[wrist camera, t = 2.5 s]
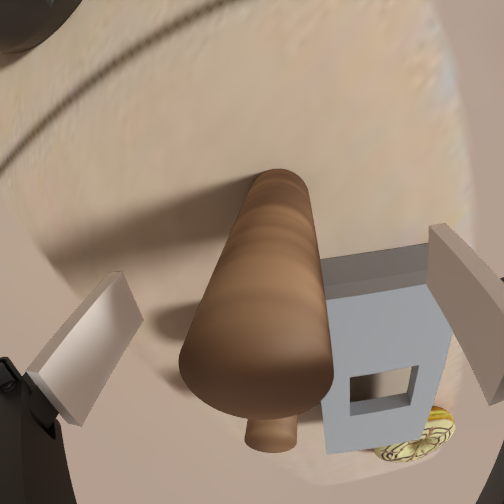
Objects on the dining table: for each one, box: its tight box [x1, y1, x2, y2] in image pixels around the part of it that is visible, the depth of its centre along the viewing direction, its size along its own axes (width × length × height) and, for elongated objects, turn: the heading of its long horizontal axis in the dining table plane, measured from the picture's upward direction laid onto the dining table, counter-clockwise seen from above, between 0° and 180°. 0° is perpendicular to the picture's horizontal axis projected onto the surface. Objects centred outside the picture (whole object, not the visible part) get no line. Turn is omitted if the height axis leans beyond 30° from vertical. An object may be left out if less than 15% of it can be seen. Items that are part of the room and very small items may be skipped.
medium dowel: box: [245, 414, 298, 453], centre depth 25 cm, size 4×4×8 cm
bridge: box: [320, 243, 453, 454], centre depth 24 cm, size 20×10×5 cm, turn 12°
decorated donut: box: [374, 407, 455, 462], centre depth 30 cm, size 10×11×4 cm
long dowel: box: [179, 169, 334, 420], centre depth 14 cm, size 4×4×15 cm
